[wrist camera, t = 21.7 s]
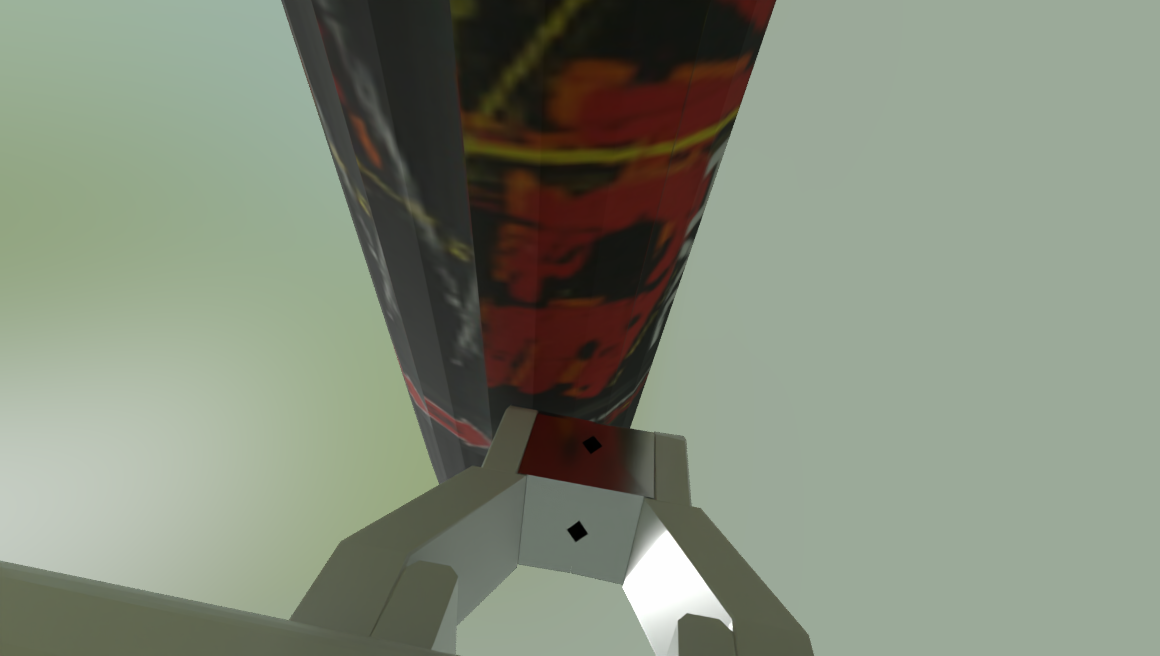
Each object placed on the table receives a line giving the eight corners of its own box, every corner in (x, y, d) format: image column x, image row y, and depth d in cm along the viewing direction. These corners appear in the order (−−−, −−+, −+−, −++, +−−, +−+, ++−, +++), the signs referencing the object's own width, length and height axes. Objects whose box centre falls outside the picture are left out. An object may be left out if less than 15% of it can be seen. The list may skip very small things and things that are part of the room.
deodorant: (55, -314, 5) (388, 439, 17) (562, -129, 3) (529, 579, 15) (527, -307, 8) (524, 328, 20) (939, -217, 6) (657, 431, 18)
